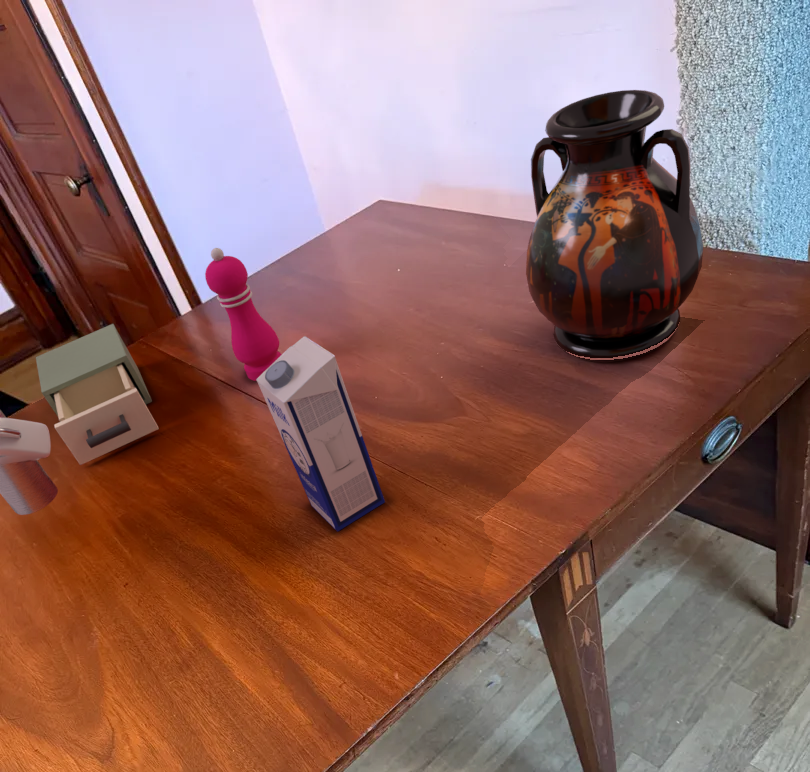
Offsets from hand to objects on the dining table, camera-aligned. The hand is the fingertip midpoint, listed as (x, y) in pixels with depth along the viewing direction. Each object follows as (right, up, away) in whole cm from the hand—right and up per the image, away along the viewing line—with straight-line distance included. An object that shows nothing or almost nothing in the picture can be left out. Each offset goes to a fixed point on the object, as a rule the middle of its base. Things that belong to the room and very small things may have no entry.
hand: (9, 458), depth 89 cm
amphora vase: (+76, +18, +13) cm, 79 cm away
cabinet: (-3, +13, +36) cm, 38 cm away
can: (+1, -5, +4) cm, 6 cm away
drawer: (+3, +7, +25) cm, 26 cm away
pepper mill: (+25, +17, +30) cm, 43 cm away
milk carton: (+40, -6, +1) cm, 41 cm away
